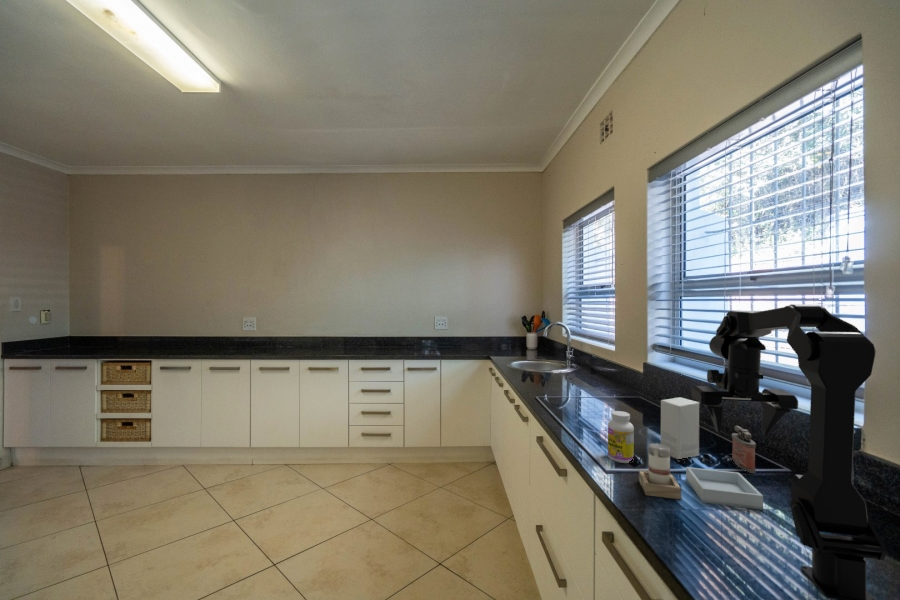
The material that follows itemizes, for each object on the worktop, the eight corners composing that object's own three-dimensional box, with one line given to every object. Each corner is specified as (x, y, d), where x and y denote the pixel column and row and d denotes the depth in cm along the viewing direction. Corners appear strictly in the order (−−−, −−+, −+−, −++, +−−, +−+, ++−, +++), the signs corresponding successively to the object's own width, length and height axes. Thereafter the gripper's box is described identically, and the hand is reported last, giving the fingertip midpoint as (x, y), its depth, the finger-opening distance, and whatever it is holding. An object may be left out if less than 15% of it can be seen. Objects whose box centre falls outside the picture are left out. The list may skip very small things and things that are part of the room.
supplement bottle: (602, 456, 108) (602, 411, 108) (619, 452, 111) (619, 408, 111) (622, 465, 102) (622, 418, 102) (639, 461, 105) (639, 415, 105)
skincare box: (680, 448, 114) (680, 396, 114) (701, 456, 108) (701, 402, 108) (659, 452, 111) (659, 399, 111) (679, 461, 105) (679, 405, 105)
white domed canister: (672, 495, 86) (672, 451, 86) (650, 492, 88) (650, 449, 88) (666, 486, 91) (666, 444, 91) (646, 483, 92) (646, 442, 92)
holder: (681, 499, 85) (681, 488, 85) (645, 494, 87) (645, 484, 87) (671, 484, 92) (671, 474, 92) (639, 480, 94) (639, 470, 94)
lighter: (759, 473, 97) (759, 434, 97) (744, 472, 98) (744, 433, 98) (742, 460, 105) (742, 424, 105) (728, 459, 106) (728, 423, 106)
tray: (763, 510, 81) (763, 496, 80) (703, 502, 84) (703, 488, 84) (738, 485, 91) (738, 472, 91) (686, 479, 94) (686, 467, 94)
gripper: (769, 359, 91) (766, 422, 92) (683, 356, 95) (681, 417, 96) (801, 371, 80) (797, 442, 81) (703, 368, 84) (700, 436, 85)
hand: (740, 433), depth 86 cm, fingers open, 9 cm apart
